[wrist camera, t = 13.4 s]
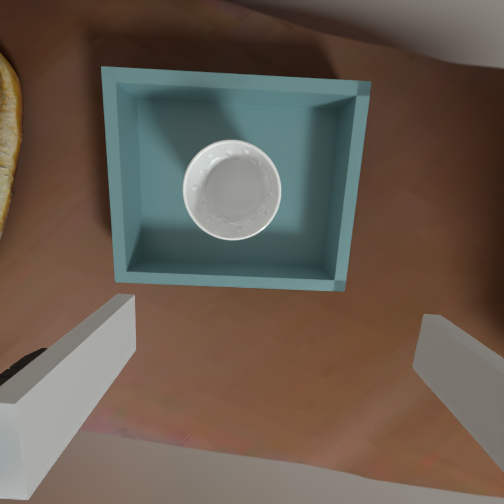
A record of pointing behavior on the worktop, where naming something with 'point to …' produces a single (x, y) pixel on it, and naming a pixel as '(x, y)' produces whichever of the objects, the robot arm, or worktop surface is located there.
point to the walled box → (232, 128)
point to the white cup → (231, 189)
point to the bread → (9, 134)
